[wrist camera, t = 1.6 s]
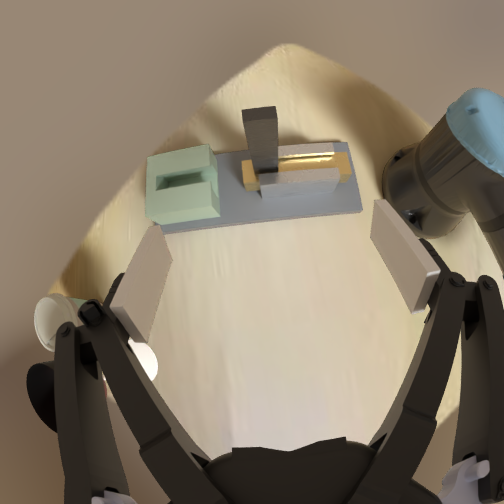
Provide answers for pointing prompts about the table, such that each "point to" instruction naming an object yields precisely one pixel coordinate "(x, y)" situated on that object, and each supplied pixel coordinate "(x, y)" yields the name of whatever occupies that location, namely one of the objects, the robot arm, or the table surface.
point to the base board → (272, 209)
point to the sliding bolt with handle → (266, 151)
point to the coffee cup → (55, 316)
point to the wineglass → (43, 382)
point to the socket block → (182, 186)
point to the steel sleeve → (300, 174)
